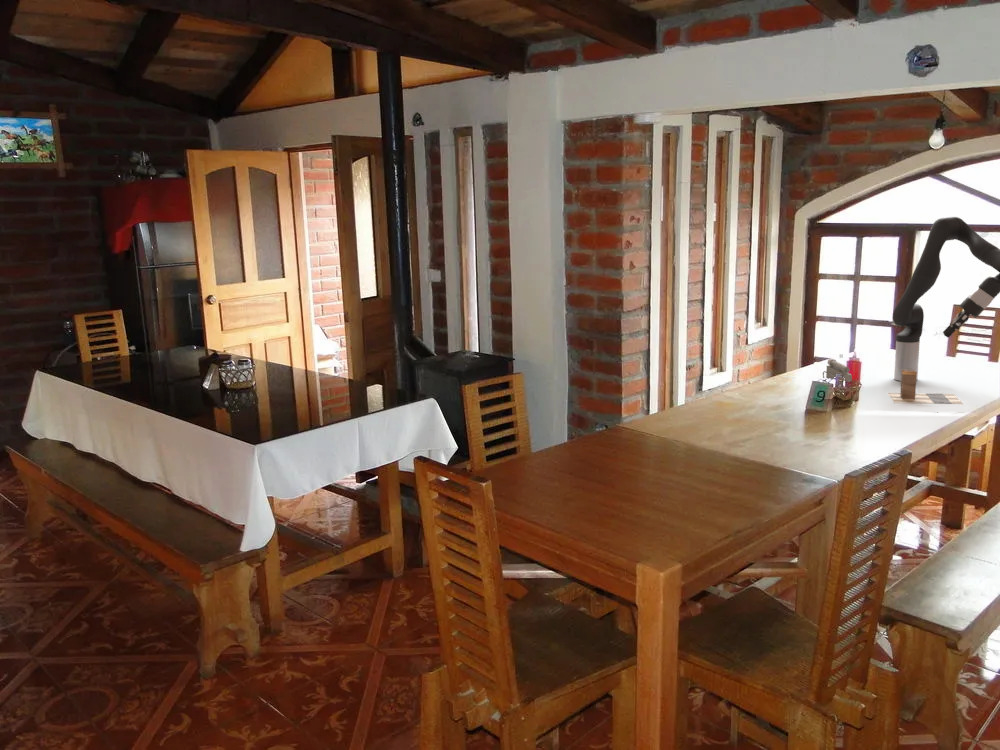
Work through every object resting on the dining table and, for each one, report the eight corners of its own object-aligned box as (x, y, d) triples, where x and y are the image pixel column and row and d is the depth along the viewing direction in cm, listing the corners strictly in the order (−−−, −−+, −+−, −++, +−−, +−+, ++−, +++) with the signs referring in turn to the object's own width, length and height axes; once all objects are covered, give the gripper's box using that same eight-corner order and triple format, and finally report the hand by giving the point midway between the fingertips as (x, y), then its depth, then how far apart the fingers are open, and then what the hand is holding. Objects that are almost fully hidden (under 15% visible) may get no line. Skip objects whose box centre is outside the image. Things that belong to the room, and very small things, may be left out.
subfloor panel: (887, 396, 335) (887, 392, 335) (953, 397, 328) (953, 393, 328) (894, 406, 320) (894, 402, 320) (963, 407, 313) (963, 403, 313)
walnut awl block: (900, 396, 329) (901, 369, 326) (913, 396, 327) (914, 369, 325) (902, 399, 324) (903, 371, 322) (915, 399, 323) (916, 372, 321)
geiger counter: (855, 367, 329) (831, 355, 353) (839, 367, 329) (816, 356, 353) (853, 400, 332) (830, 387, 356) (837, 401, 332) (815, 387, 356)
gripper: (966, 295, 321) (936, 327, 327) (969, 296, 308) (937, 330, 314) (983, 307, 319) (952, 339, 325) (987, 309, 306) (954, 343, 312)
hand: (945, 335), depth 319 cm, fingers open, 8 cm apart
